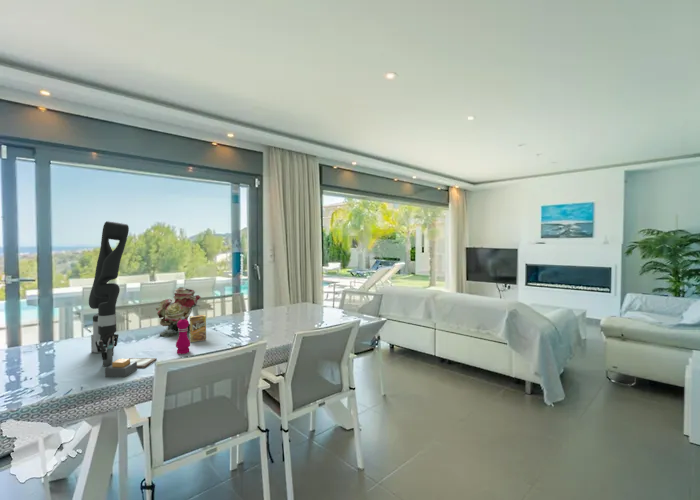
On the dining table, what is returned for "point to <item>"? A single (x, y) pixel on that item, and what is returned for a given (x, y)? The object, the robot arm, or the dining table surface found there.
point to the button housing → (121, 370)
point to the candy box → (197, 328)
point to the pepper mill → (182, 336)
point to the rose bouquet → (176, 310)
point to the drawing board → (143, 361)
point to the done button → (121, 363)
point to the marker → (108, 356)
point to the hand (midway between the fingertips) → (107, 357)
